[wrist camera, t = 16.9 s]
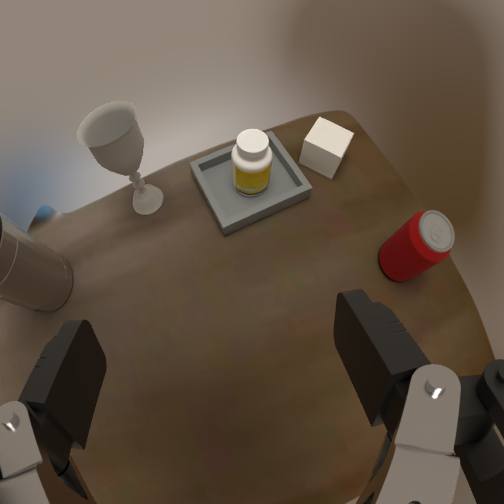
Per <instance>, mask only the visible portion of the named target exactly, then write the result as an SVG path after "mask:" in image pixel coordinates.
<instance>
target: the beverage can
mask: <svg viewBox="0 0 504 504" xmlns="http://www.w3.org/2000/svg"><path fill="white" fill-rule="evenodd" d="M453 243H454V230H453V227H452V225H451V223H450V221H449V220H448V219H447V218H446V217H445V216H444V215H443V214H442V213H440V212H438V211H434V210H431V211H421V212H418V213H416V214H415V215H414V216H413V217H412V218H411V219H410V220H408V221H407V222H406V223H405V224H404V225H403V226H402V227H401V228H400V229H399V230H398V231H397V232H396V233H394V234H393V235H392V236H391V237H390V238H389V239H388V240H387V241H386V242H385V243H384V244H383V245H382V247H381V249H380V253H379V260H380V265H381V267H382V269H383V271H384V272H385V274H386V275H387V276H388V277H390V278H391V279H393V280H395V281H407V280H409V279H411V278H413V277H415V276H416V275H418V274H420V273H422V272H424V271H425V270H427V269H429V268H431V267H432V266H434V265H436V264H437V263H439V262H441V261H442V260H444V259H445V258H446V257H447V256H448V255H449V253H450V250H451V247H452V246H453Z"/></svg>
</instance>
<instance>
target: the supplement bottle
mask: <svg viewBox="0 0 504 504" xmlns="http://www.w3.org/2000/svg"><path fill="white" fill-rule="evenodd" d="M231 160H232V182H233V186H234V188H235V190H236V191H237V192H238V193H240V194H241V195H244V196H248V197H254V196H258V195H260V194H262V193H263V192H264V191H265V190H266V189H267V187H268V184H269V178H270V171H271V164H272V151H271V148H270V147H269V139H268V137H267V135H266V134H265V133H264V132H262V131H260V130H257V129H248V130H245V131H243V132H241V133H240V134H239V135H238V137H237V144H236V145H235V146H234V147H233V149H232V153H231Z"/></svg>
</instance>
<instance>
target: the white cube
mask: <svg viewBox="0 0 504 504" xmlns="http://www.w3.org/2000/svg"><path fill="white" fill-rule="evenodd" d="M353 134H354V133H352V132H350V131H348V130H346V129H344V128H342V127H340V126H338V125H336V124H334V123H332V122H330V121H328V120H326V119H323V118H321V117H319V118H318V120H317V121H316V123H315V124H314V126H313V127H312V129H311V130H310V132H309V133H308V135H307V136H306V138H305V140H304V143H303V147H302V151H301V155H300V159H299V163H300V164H302V165H304V166H306V167H308V168H310V169H312V170H314V171H316V172H318V173H320V174H322V175H324V176H326V177H328V178H330V179H332V178H333V176H334V174H335V172H336V170H337V168H338V166H339V164H340V162H341V160H342V158H343V157H344V154H345V152H346V150H347V148H348V146H349V143H350V141H351V139H352V136H353Z"/></svg>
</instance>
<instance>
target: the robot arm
mask: <svg viewBox="0 0 504 504" xmlns="http://www.w3.org/2000/svg"><path fill="white" fill-rule="evenodd" d="M72 284H73V274H72V269H71V267H70V264H69V263H68V261H67V260H66V259H65V258H64V257H62V256H61V255H59V254H57V253H56V252H54V251H53V250H52V249H50V248H49V247H47V246H46V245H44V244H43V243H41V242H40V241H38V240H37V239H36V238H34V237H33V236H31V235H30V234H29V233H27V232H26V231H24V230H23V229H22V228H20V227H19V226H17V225H16V224H15V223H13V222H12V221H11V220H9V219H8V218H7V217H5V216H4V215H3V214H1V213H0V299H1V300H4V301H7V302H10V303H13V304H15V305H18V306H21V307H24V308H27V309H30V310H34V311H37V310H39V309H40V310H43V311H49V312H50V311H55V310H57V309H58V308H60V307H61V306H62V305H63V304H64V303H65V302H66V300H67V299H68V297H69V295H70V292H71V289H72ZM334 342H335V346H336V349H337V351H338V353H339V355H340V357H341V360H342V362H343V364H344V366H345V368H346V370H347V373H348V375H349V377H350V379H351V381H352V384H353V386H354V388H355V390H356V392H357V395H358V397H359V399H360V401H361V404H362V406H363V408H364V410H365V413H366V415H367V417H368V420H369V422H370V424H371V426H372V427H374V426H377V425H380V424H383V423H384V424H385V427H386V429H387V432H386V434H385V437H384V440H383V443H382V446H381V449H380V451H379V454H378V457H377V459H376V462H375V464H374V467H373V469H372V472H371V474H370V477H369V479H368V482H367V484H366V486H365V488H364V490H363V492H362V494H361V495H360V497H359V499H358V501H357V503H356V504H452V500H453V496H454V492H455V488H456V483H457V479H458V474H459V468H460V465H461V467H462V469H463V471H464V474H465V476H466V478H467V481H468V483H469V486H470V488H471V490H472V493H473V495H474V498H475V500H476V503H477V504H504V447H503V445H502V443H501V441H500V439H499V438H498V435H497V434H496V432H495V430H494V428H493V427H494V426H495V425H496V426H497V428H498V429H499V431H500V433H501V435H502V437H503V438H504V360H502V359H498V360H493V361H491V362H490V363H489V364H488V365H487V366H486V368H485V369H484V371H483V373H482V375H473V376H462V377H457V376H456V374H455V373H454V372H453V371H451V370H450V369H448V368H447V367H444V366H441V365H436V364H431V363H430V361H429V360H428V359H427V357H426V356H425V354H424V353H423V352H422V350H421V349H420V347H419V346H418V345H417V343H416V342H415V341H414V339H413V338H412V337H411V335H410V334H409V332H406V328H405V327H404V326H403V324H402V323H400V321H399V319H398V318H397V317H396V315H395V314H394V313H393V311H392V310H391V309H389V308H388V307H386V306H384V305H383V304H381V303H380V302H375V303H372V301H371V300H370V299H369V297H368V296H367V294H366V293H365V292H364V291H363V290H362V289H359V290H353V291H347V292H341V293H338V295H337V301H336V312H335V322H334ZM105 373H106V358H105V354H104V352H103V350H102V348H101V346H100V344H99V342H98V340H97V337H96V335H95V333H94V331H93V328H92V326H91V324H90V323H89V321H87V320H69V321H66V322H65V323H64V324H63V326H62V328H61V329H60V331H59V333H58V335H57V336H55V337H54V338H53V339H52V340H51V341H50V342H49V343H48V344H47V345H46V346H45V348H44V350H43V351H42V353H41V355H40V359H38V361H37V363H36V365H35V368H34V369H33V371H32V373H31V375H30V377H29V379H28V381H27V383H26V385H25V387H24V389H23V391H22V393H21V395H20V398H19V400H18V401H11V402H8V403H6V404H4V405H2V406H1V407H0V504H97V503H96V502H95V500H94V498H93V496H92V495H91V493H90V491H89V489H88V487H87V486H86V484H85V482H84V480H83V478H82V476H81V474H80V472H79V470H78V468H77V466H76V464H75V462H74V460H73V458H72V457H71V456H70V455H69V454H70V450H71V448H75V449H82V450H84V449H85V445H86V441H87V437H88V433H89V429H90V425H91V421H92V418H93V414H94V410H95V407H96V403H97V399H98V396H99V393H100V389H101V386H102V383H103V379H104V376H105ZM453 449H454V451H455V454H456V455H454V453H453Z"/></svg>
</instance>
